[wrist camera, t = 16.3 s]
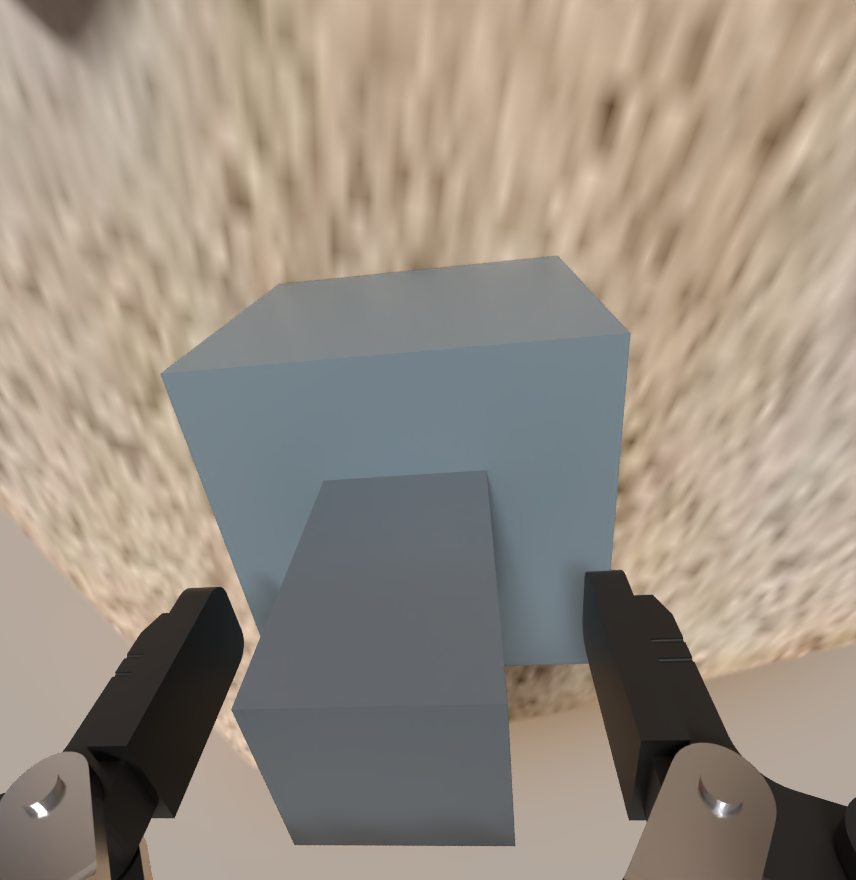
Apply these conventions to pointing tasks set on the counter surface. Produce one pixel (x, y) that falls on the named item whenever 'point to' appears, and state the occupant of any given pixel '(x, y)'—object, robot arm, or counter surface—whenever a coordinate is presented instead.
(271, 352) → the grey block
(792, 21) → the counter surface
